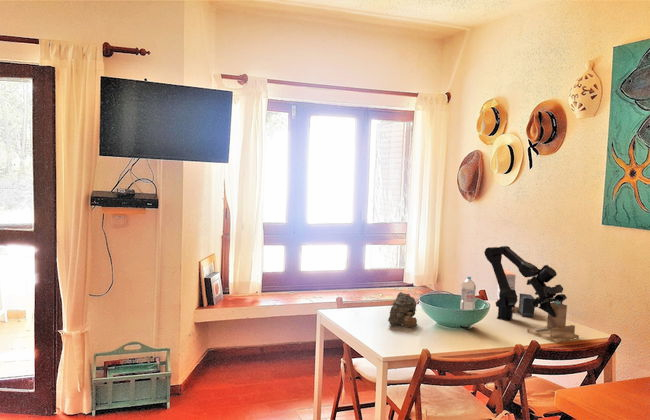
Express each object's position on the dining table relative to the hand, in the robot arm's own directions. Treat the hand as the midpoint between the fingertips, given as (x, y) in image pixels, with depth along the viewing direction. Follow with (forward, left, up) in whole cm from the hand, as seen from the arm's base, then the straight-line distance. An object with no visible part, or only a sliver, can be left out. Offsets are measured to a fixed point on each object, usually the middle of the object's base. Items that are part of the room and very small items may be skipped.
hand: (559, 316), depth 214 cm
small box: (-19, +32, -10) cm, 39 cm away
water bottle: (-39, -12, -10) cm, 43 cm away
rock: (-65, -30, -10) cm, 73 cm away
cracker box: (-32, +40, -10) cm, 52 cm away
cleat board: (-3, +1, -10) cm, 10 cm away
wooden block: (-1, +1, -7) cm, 7 cm away
